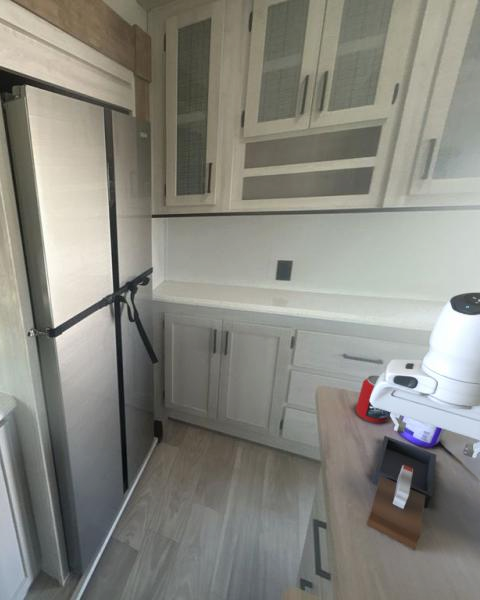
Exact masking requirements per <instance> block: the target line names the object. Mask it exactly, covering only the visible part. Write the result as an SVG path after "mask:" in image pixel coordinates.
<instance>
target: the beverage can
mask: <svg viewBox="0 0 480 600" xmlns="http://www.w3.org/2000/svg"><path fill="white" fill-rule="evenodd" d="M379 376H380V375H369V376H368V377H367V378H365V379H364V380H363V382H362V385H361V388H360V392H359V396H358V399H357V403H356V408H355V412H356V414H357V415H358V416H359V417H361V418H362V419H364V420H366V421H368V422H370V423H375V424H382V423H385V422H387V421H388V418H389V416H390V412H388V411H385V410H382V409H379V408H376V407H373V406H372V404H371V403H370V401H369V400H370V397H371V393H372V391H373V388H374V386H375V384H376V381H377V380H378V378H379Z"/></svg>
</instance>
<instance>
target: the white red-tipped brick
mask: <svg viewBox="0 0 480 600" xmlns="http://www.w3.org/2000/svg"><path fill="white" fill-rule="evenodd" d="M412 474H413V468H411V467H408V466H406V465H403V466H402V468H401V471H400V474H399V477H398V480H397V485H396V490H395V495H394V500H393V504H394V505H396V506H398V507H400V508H402V509H404V506H405V504H406V501H407V499H408V496H409V492H410V486H411V480H412Z"/></svg>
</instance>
